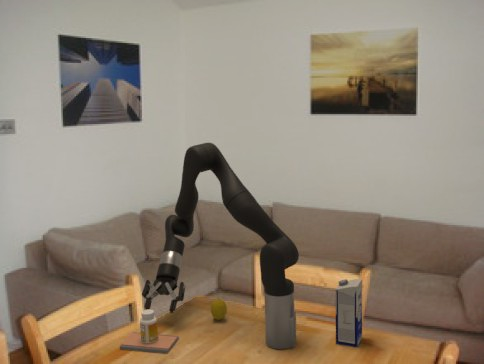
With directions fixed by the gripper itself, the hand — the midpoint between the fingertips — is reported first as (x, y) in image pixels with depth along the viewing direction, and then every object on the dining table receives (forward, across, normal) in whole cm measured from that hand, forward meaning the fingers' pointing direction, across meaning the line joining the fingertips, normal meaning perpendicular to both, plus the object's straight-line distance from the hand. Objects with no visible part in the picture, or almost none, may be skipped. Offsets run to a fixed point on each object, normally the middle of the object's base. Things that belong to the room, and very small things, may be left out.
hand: (159, 311), depth 184 cm
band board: (+12, 0, -1) cm, 12 cm away
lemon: (-3, +17, +14) cm, 22 cm away
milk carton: (+3, +62, +8) cm, 63 cm away
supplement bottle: (+11, 0, -2) cm, 11 cm away
